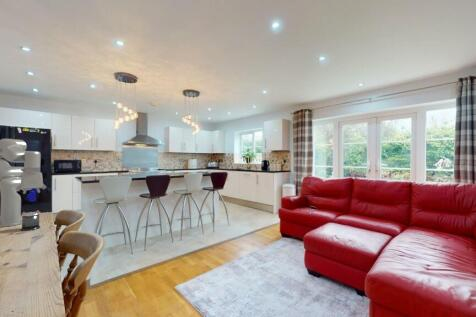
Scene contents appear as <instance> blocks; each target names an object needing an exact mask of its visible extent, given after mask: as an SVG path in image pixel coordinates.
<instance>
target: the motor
mask: <svg viewBox="0 0 476 317" xmlns="http://www.w3.org/2000/svg"><path fill="white" fill-rule="evenodd" d="M40 215H41V212H40V210H39V209H37V210H36V211H30V212H25V211H23V212H22V213H21V218H22V219H21V220H22V224H21V228H20V231H21V232H31V230H32V231H36V230H39V229H41V225H40ZM35 229H36V230H35Z"/></svg>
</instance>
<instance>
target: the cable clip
mask: <svg viewBox="0 0 476 317" xmlns="http://www.w3.org/2000/svg"><path fill="white" fill-rule="evenodd" d="M36 193H37V189H30V190H29V193H27V200H26V201H28V202H37V199H36Z"/></svg>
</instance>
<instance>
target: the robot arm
mask: <svg viewBox="0 0 476 317" xmlns="http://www.w3.org/2000/svg"><path fill="white" fill-rule="evenodd" d="M27 147H28V145H27V143H26V141H24V140H23V139H15V138H1V139H0V227H1V228H4V227H12V226H13V227H14V226H19V225H22V219H21V218H22V216H21V214H22V212H21V211H22V210H21V209H22V198H21V195H20V194H19V193H18V192H20V193H22V194H23V195H22V196H23V200H25V201H28V200H27V194H28V193H27V191H30V190H35V189H36V200H39V198H40V193H41V192H42V191H44V190H45V189H47V185H46V184H44V180H43V172H41V154H42V153H41V152H40V151H37V150H36V151H35V150H34V151H33V150H27V149H28V148H27ZM9 162H10V163H24V164H23V166H11V165H10V163H9Z"/></svg>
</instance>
